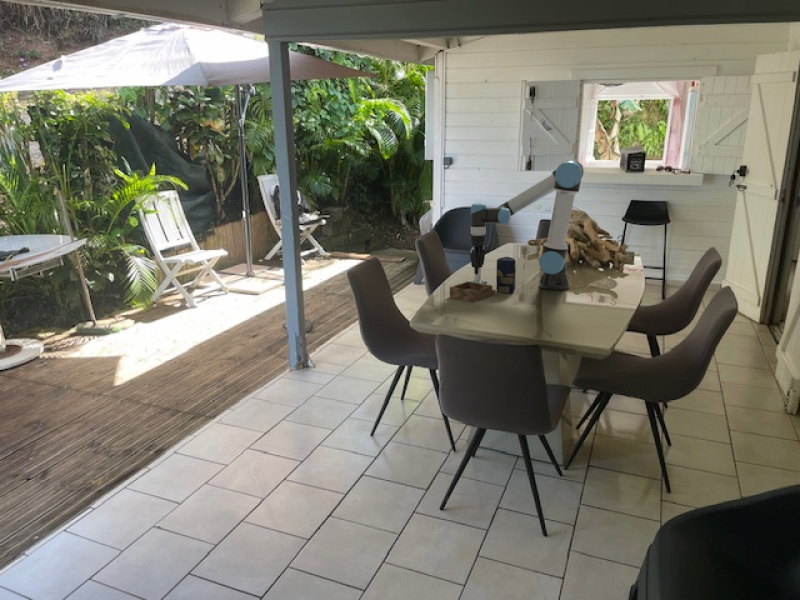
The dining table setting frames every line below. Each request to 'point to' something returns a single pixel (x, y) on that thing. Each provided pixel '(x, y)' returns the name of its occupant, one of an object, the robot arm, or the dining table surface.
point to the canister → (506, 274)
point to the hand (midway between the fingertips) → (477, 279)
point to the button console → (481, 282)
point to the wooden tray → (471, 291)
